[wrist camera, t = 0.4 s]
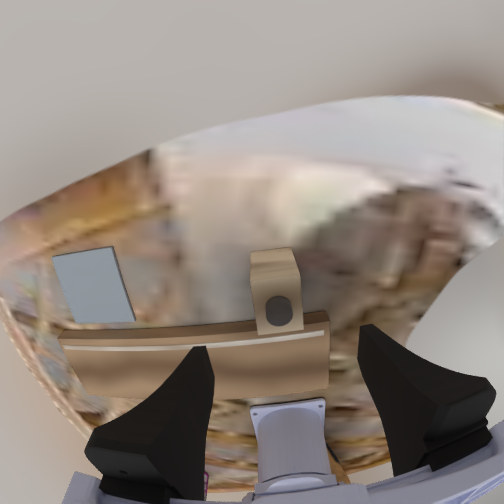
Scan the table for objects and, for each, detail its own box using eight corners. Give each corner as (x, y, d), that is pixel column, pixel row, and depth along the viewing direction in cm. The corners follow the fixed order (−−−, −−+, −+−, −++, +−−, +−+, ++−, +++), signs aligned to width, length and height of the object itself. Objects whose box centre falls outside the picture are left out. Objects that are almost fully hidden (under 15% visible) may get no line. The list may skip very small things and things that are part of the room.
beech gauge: (294, 293, 23) (305, 338, 18) (257, 298, 24) (258, 344, 18) (290, 246, 22) (302, 282, 16) (250, 251, 22) (249, 288, 17)
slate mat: (136, 319, 24) (135, 321, 24) (77, 321, 25) (76, 323, 24) (112, 246, 22) (111, 247, 22) (53, 256, 22) (51, 257, 22)
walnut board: (325, 376, 27) (328, 388, 25) (93, 385, 28) (88, 395, 26) (325, 310, 24) (330, 321, 22) (64, 330, 25) (56, 339, 24)
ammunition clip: (306, 439, 30) (351, 509, 19) (319, 432, 31) (367, 500, 19) (320, 469, 34) (356, 525, 23) (331, 464, 34) (369, 518, 23)
